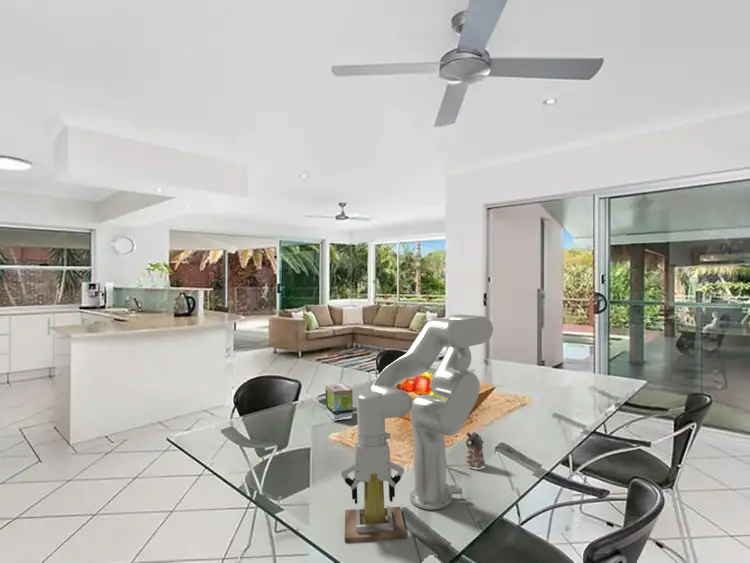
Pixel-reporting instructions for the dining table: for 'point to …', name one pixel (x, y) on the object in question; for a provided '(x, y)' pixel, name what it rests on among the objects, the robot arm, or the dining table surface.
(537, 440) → the dining table surface
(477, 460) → the figurine
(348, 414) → the tea box
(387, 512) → the socket board
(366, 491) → the vase
